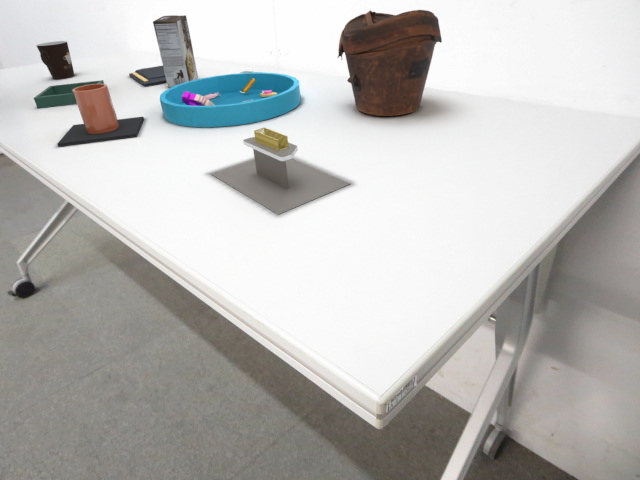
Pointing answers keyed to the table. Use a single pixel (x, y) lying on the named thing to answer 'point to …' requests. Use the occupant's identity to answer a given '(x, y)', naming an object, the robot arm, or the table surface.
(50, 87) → the compartment
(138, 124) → the mat
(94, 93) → the cup
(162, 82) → the wallet
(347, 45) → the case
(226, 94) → the blue plastic shallow tray
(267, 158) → the platform
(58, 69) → the coffee mug
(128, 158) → the table surface
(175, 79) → the coffee box
